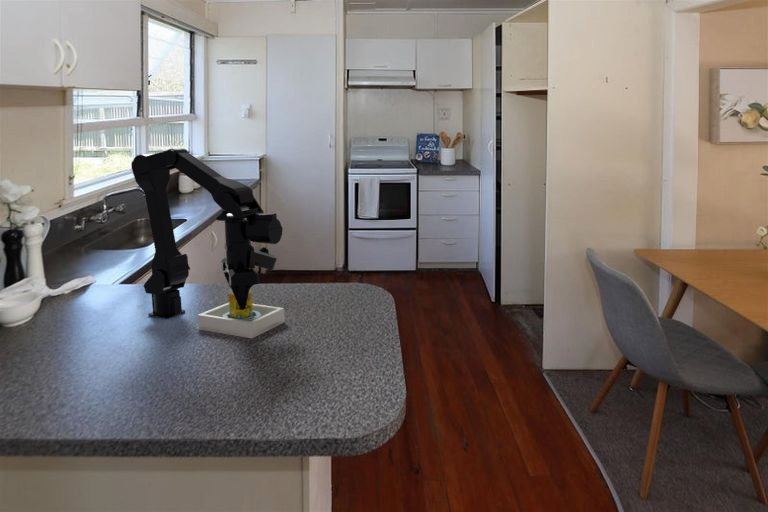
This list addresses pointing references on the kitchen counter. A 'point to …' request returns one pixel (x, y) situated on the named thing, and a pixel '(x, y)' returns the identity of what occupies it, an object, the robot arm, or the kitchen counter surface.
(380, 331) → the kitchen counter surface
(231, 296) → the supplement bottle
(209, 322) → the socket box
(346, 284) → the kitchen counter surface
